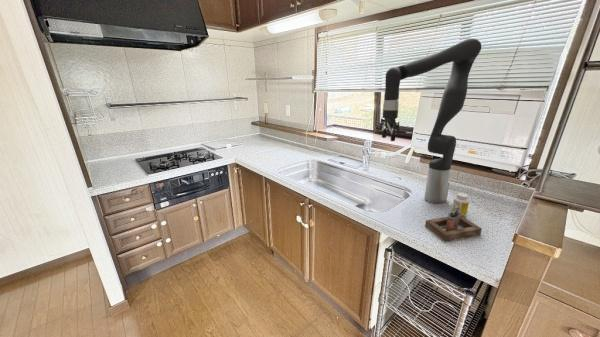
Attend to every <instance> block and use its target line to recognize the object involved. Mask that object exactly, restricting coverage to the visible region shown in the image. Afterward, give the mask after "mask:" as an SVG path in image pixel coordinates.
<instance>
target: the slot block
mask: <svg viewBox="0 0 600 337" xmlns="http://www.w3.org/2000/svg"><path fill="white" fill-rule="evenodd" d="M447 217H448V215H447V216H443V217H438V218H431V219H426V220H425V223H424V227H425V228H426V229H428V230H429V231H430V232H432V233H433V234H434V235H435V236H437V238H440V239H441V240H442V241H443V242H444V243H447V242H453V241H457V240H458V241H459V240H462V239H463V240H464V239H467V238H473V237H476V236H477V237H478V236H481V234H482V229H483V228H482V227H480V226H478V225H477V224H475V223H474V222H472V221H471V220H469V219H467V218H466V217H462V216H460V218H459V223H458V226H460V227H461V228H458V230H452V231H445V229H444V228H442V227H446V225H447V220H448V218H447Z"/></svg>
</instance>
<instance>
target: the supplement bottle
mask: <svg viewBox="0 0 600 337" xmlns="http://www.w3.org/2000/svg"><path fill="white" fill-rule="evenodd" d="M452 203H453V204H452V209H453V208H455V207H457V206H459V207H460V209H459V211H460V212H461V215H460V216H462V217H464V218H466V217H467V213H468V208H469V203H470V199H469V195H468V194H466V193H464V192H458V193H457V194H456V196H455V197H453V202H452ZM452 209H451V210H452Z"/></svg>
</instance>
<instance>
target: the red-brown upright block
mask: <svg viewBox="0 0 600 337" xmlns="http://www.w3.org/2000/svg"><path fill="white" fill-rule="evenodd" d="M452 208H453V207H452ZM459 209H460V207H459V206H457V207H455V208H453V209H451V210H450V212H449V213H448V214H447V216H448V217H447V216H446V217H447V218H448V220H447V225H446V226H445V229H444V230H445V231H452V230H458V229H459V225H458V223H459V218H460V215H461V212H460V211H459Z"/></svg>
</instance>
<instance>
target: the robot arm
mask: <svg viewBox="0 0 600 337" xmlns="http://www.w3.org/2000/svg"><path fill="white" fill-rule="evenodd" d="M481 50H482V43H481V41H480V40H479V39H477V38H473V37H472V38H467V39H464V40H462V41H460V42H458V43H456V44H454V45H451V46H449V47H447V48H445V49H443V50H441V51H439V52H435V53H433V54H430V55H428V56H425V57H421V58H418V59H415V60H412V61H410V62H407V63H405V64H403V65H398V66H395V67H390V68H389V69H388V70H387V71H386V73H385V86H384V87H385V90H384V96H383V97H384V98H383V105H382V118H380V125H379V126H380V127H379V129H380V130H381V138H382V139H386V138H387V130H389V132H390V142H395V141H396V136H397V134H399V132H400V121H396V119H397V118H398V117H399V107H400V105H399V100H400V83H401V81H402V80H405V79H407V78H413V77H416V76H420V75H423V74H425V73H428V72H431V71H433V70H434V69H437V68H438V67H441V66H443V65H446V64H448V63H452V66H451V70H450V71H451V72H450V76H449V78H448V79H447V82H446V85H445V88H444V90H443V94H442V97H441V99H440V100H441V101H440V105H439V108H438V111H437V112H438V113H437V116H436V119H435V123H434V125H433V128H432V131H431V133H430V136H429V140H428V143H427V151H428V152H429V153H432V154H435V155H436V154H437V155H442V158H435V159H431V160H430V161H429V163H428V170H427V176H426V184H425V192H424V199H425V201H427V202H429V203H432V204H443V203H446V202H445V201H447V200H448V195H449V189H450V182H449V179H450V173H451V168H452V163H453V159H454V155H455V154H454V153H455V150H456V146H457V138H456V137H455V136H454V135H450V134H448V135H447V134H442V133H443V132H444V129H445V128H446V126H447V125H448V123H449V122H451V120H453V118H454V117H456V116H457V115H458V114H459V113H460V111H461V110H462V109H463V107H464V105H465V101H466V98H467V93H468V82H469V80H468V79H469V76H470V72H471V70H472V67H473V64H474V62H475V61H476V58H477V57H478V56H479V54H480V52H481Z"/></svg>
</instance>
